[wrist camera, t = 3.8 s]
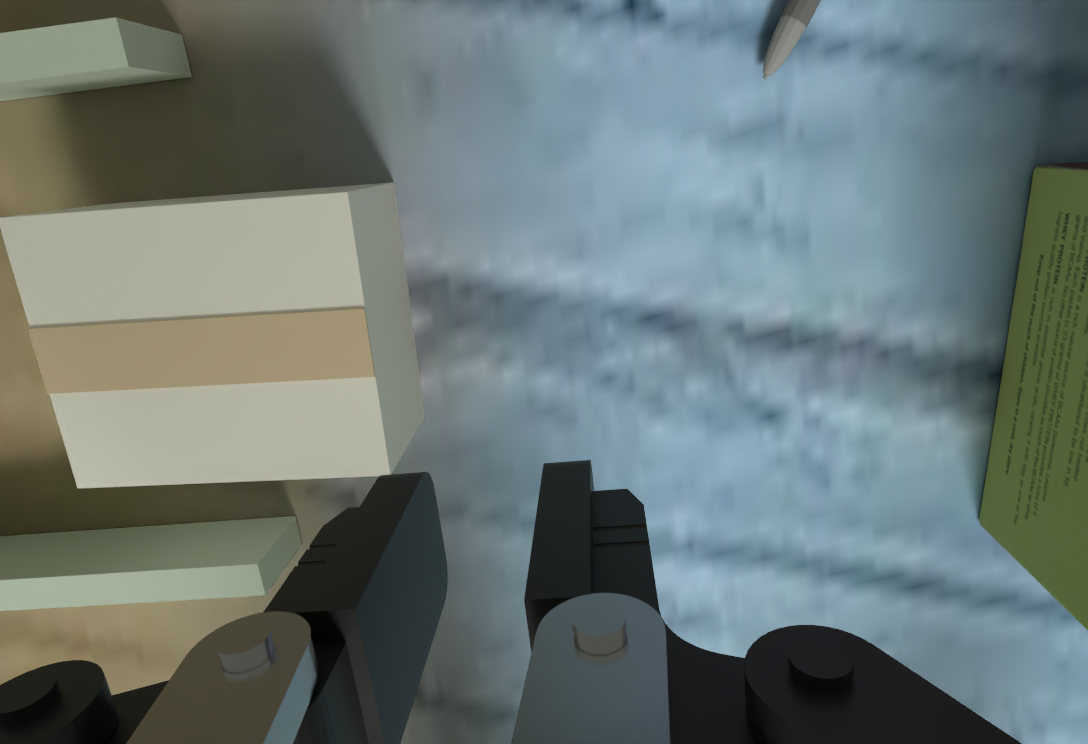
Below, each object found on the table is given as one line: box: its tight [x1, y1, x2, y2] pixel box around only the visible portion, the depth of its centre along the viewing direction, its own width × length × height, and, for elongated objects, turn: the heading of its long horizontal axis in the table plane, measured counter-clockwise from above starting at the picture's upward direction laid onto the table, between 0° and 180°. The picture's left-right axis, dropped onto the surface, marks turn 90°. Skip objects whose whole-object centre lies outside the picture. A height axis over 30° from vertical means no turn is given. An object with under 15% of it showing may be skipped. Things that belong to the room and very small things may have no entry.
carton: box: [0, 182, 425, 488], centre depth 28 cm, size 12×10×6 cm
